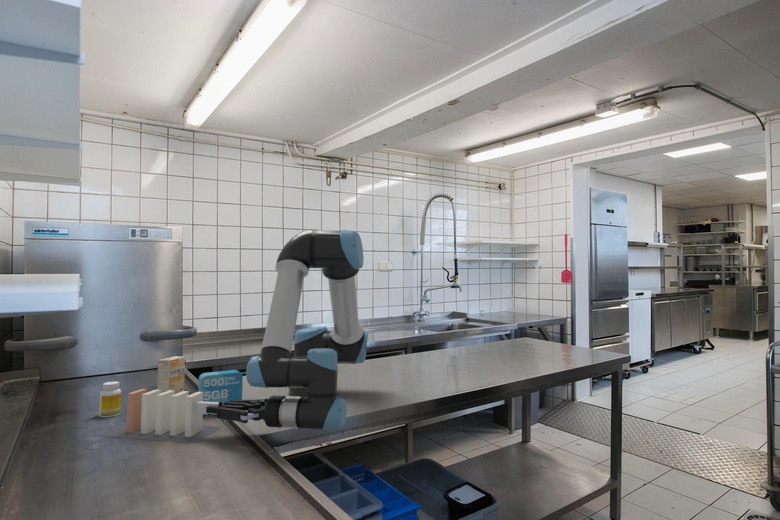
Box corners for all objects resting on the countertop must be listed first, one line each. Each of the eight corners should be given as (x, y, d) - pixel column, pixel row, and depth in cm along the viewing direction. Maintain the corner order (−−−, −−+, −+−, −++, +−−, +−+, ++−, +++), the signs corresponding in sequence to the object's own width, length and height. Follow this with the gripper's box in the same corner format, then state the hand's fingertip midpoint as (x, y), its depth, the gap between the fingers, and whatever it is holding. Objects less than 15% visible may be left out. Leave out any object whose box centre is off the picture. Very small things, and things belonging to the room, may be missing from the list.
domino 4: (187, 429, 114) (188, 391, 114) (175, 435, 109) (176, 396, 109) (182, 428, 114) (183, 390, 114) (169, 435, 109) (171, 395, 109)
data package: (200, 417, 125) (201, 376, 125) (197, 413, 129) (198, 373, 129) (242, 411, 131) (242, 371, 132) (238, 407, 135) (239, 369, 136)
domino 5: (202, 430, 113) (203, 392, 113) (190, 436, 108) (191, 397, 109) (196, 429, 113) (197, 391, 114) (184, 436, 108) (185, 396, 109)
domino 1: (145, 426, 116) (147, 389, 116) (131, 432, 111) (133, 393, 111) (140, 426, 116) (141, 388, 116) (126, 432, 111) (127, 393, 112)
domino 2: (159, 427, 115) (160, 389, 116) (146, 433, 110) (147, 394, 111) (154, 426, 115) (155, 389, 116) (140, 433, 110) (142, 394, 111)
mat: (222, 428, 116) (222, 426, 116) (195, 444, 104) (195, 443, 104) (137, 422, 120) (137, 421, 120) (102, 437, 108) (102, 436, 108)
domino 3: (173, 428, 114) (174, 390, 115) (160, 434, 109) (162, 395, 110) (168, 427, 115) (169, 390, 115) (155, 434, 110) (156, 395, 110)
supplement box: (168, 399, 144) (169, 360, 144) (156, 398, 145) (157, 359, 145) (184, 393, 152) (186, 356, 152) (173, 392, 153) (174, 355, 153)
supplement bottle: (95, 416, 125) (96, 383, 126) (115, 411, 130) (116, 380, 130) (104, 419, 122) (105, 385, 123) (124, 414, 127) (125, 382, 127)
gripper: (273, 436, 100) (181, 430, 104) (294, 418, 113) (211, 414, 116) (273, 403, 100) (182, 399, 104) (294, 389, 113) (212, 386, 117)
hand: (198, 407), depth 110 cm, fingers closed
